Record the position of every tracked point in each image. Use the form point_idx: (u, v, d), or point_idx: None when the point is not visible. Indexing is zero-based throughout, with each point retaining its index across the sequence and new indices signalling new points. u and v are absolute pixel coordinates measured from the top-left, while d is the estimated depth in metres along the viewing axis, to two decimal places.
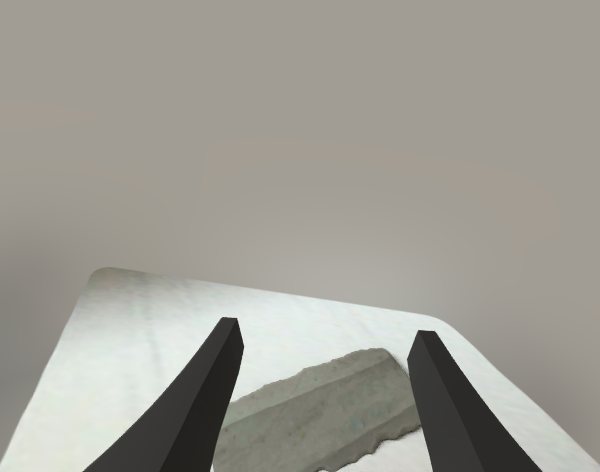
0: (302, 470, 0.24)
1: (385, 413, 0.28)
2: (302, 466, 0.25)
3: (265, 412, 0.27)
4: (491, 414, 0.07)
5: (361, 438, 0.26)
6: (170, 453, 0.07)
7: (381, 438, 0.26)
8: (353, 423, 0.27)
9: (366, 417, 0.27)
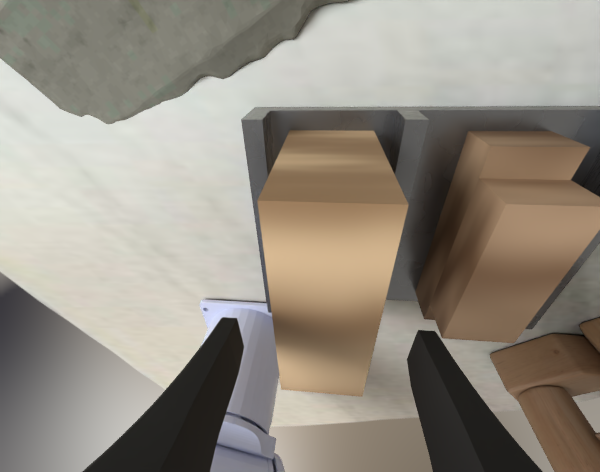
0: (172, 83, 0.14)
1: None
2: (171, 78, 0.14)
3: None
4: (491, 414, 0.07)
5: (268, 14, 0.12)
6: (170, 453, 0.07)
7: (315, 5, 0.12)
8: None
9: None
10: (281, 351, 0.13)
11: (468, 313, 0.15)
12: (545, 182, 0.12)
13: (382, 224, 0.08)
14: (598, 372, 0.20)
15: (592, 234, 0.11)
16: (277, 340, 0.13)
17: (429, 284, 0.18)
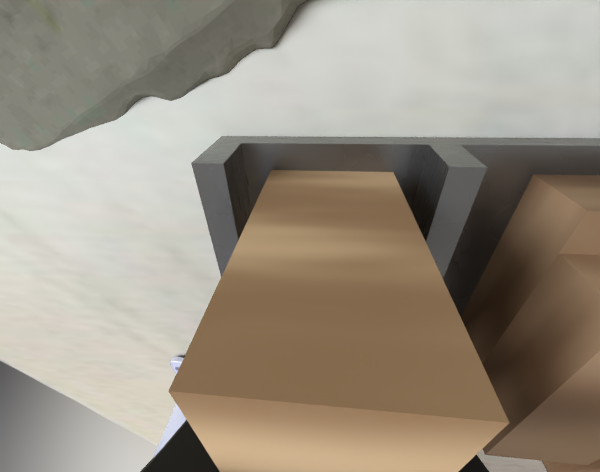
0: (99, 106, 0.10)
1: None
2: (95, 99, 0.10)
3: None
4: None
5: (231, 9, 0.08)
6: None
7: None
8: None
9: None
10: None
11: (529, 435, 0.10)
12: None
13: (439, 438, 0.04)
14: None
15: None
16: None
17: None
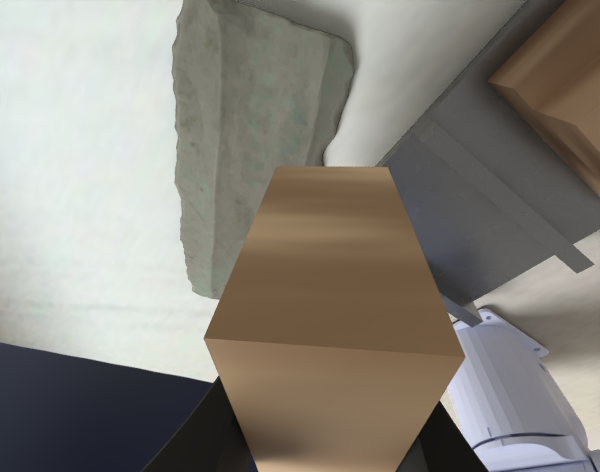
0: None
1: (302, 131, 0.16)
2: None
3: (215, 259, 0.22)
4: (442, 409, 0.08)
5: None
6: (220, 459, 0.07)
7: (321, 155, 0.17)
8: None
9: (289, 161, 0.17)
10: (265, 470, 0.10)
11: None
12: None
13: (415, 375, 0.05)
14: None
15: None
16: (258, 463, 0.09)
17: None
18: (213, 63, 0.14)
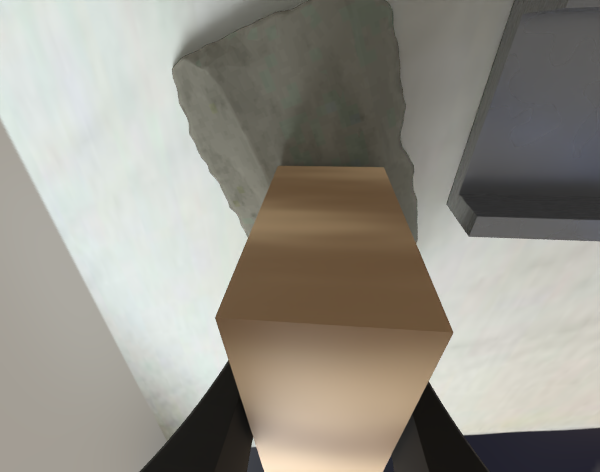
0: None
1: (363, 128, 0.11)
2: None
3: None
4: (443, 410, 0.08)
5: (396, 188, 0.13)
6: (220, 459, 0.07)
7: (400, 142, 0.12)
8: None
9: None
10: (266, 457, 0.10)
11: None
12: None
13: (408, 352, 0.05)
14: None
15: None
16: (260, 449, 0.10)
17: None
18: (229, 121, 0.11)
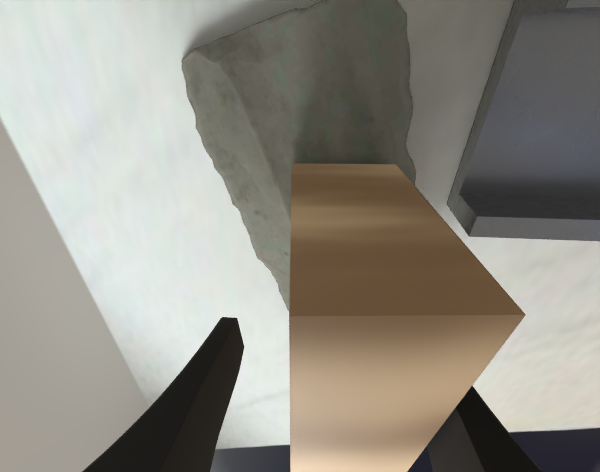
0: None
1: (371, 130, 0.11)
2: None
3: None
4: (491, 414, 0.07)
5: None
6: (170, 453, 0.07)
7: None
8: None
9: None
10: (297, 463, 0.10)
11: None
12: None
13: (477, 337, 0.06)
14: None
15: None
16: (293, 455, 0.09)
17: None
18: (238, 117, 0.11)
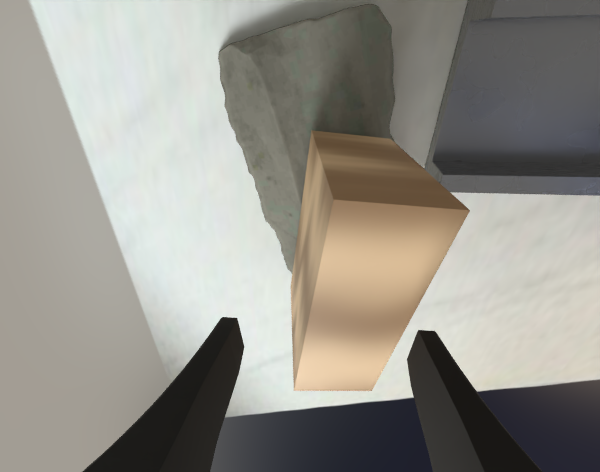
0: None
1: (362, 113, 0.15)
2: None
3: None
4: (491, 414, 0.07)
5: None
6: (170, 453, 0.07)
7: None
8: None
9: None
10: (307, 351, 0.13)
11: None
12: None
13: (442, 227, 0.09)
14: None
15: None
16: (306, 340, 0.12)
17: None
18: (261, 98, 0.14)
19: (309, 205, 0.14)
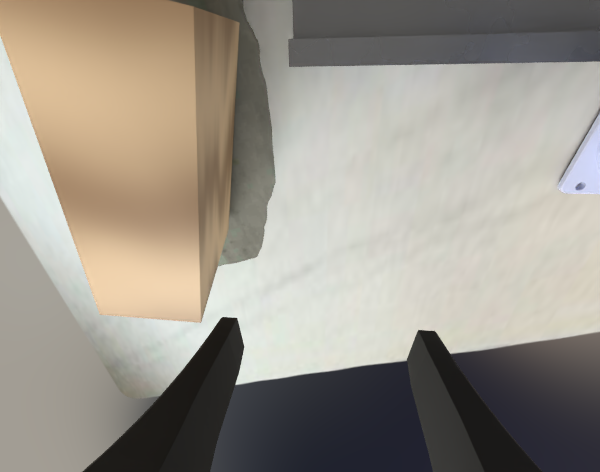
0: (273, 168, 0.18)
1: None
2: (269, 167, 0.18)
3: None
4: (491, 414, 0.07)
5: (241, 61, 0.14)
6: (170, 453, 0.07)
7: (243, 12, 0.13)
8: None
9: None
10: (84, 251, 0.10)
11: None
12: None
13: (167, 37, 0.07)
14: None
15: None
16: (73, 232, 0.10)
17: None
18: None
19: None
